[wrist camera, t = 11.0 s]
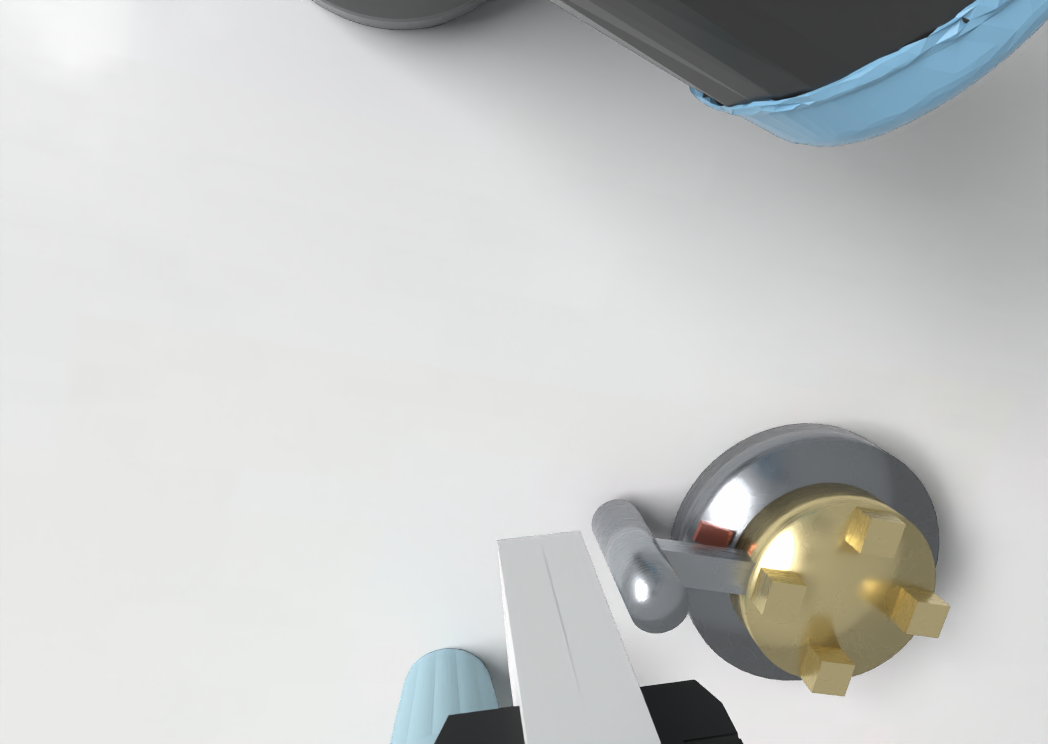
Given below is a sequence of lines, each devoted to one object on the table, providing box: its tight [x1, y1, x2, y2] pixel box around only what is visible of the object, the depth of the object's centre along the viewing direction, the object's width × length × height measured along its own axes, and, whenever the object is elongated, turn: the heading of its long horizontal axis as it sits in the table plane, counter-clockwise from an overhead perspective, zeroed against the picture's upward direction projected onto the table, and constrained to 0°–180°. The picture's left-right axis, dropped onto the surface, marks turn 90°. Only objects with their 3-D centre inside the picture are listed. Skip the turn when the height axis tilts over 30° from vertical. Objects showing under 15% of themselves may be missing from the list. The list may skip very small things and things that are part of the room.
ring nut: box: [592, 483, 950, 696], centre depth 41 cm, size 19×11×9 cm, turn 78°
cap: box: [671, 423, 939, 680], centre depth 46 cm, size 16×16×3 cm
